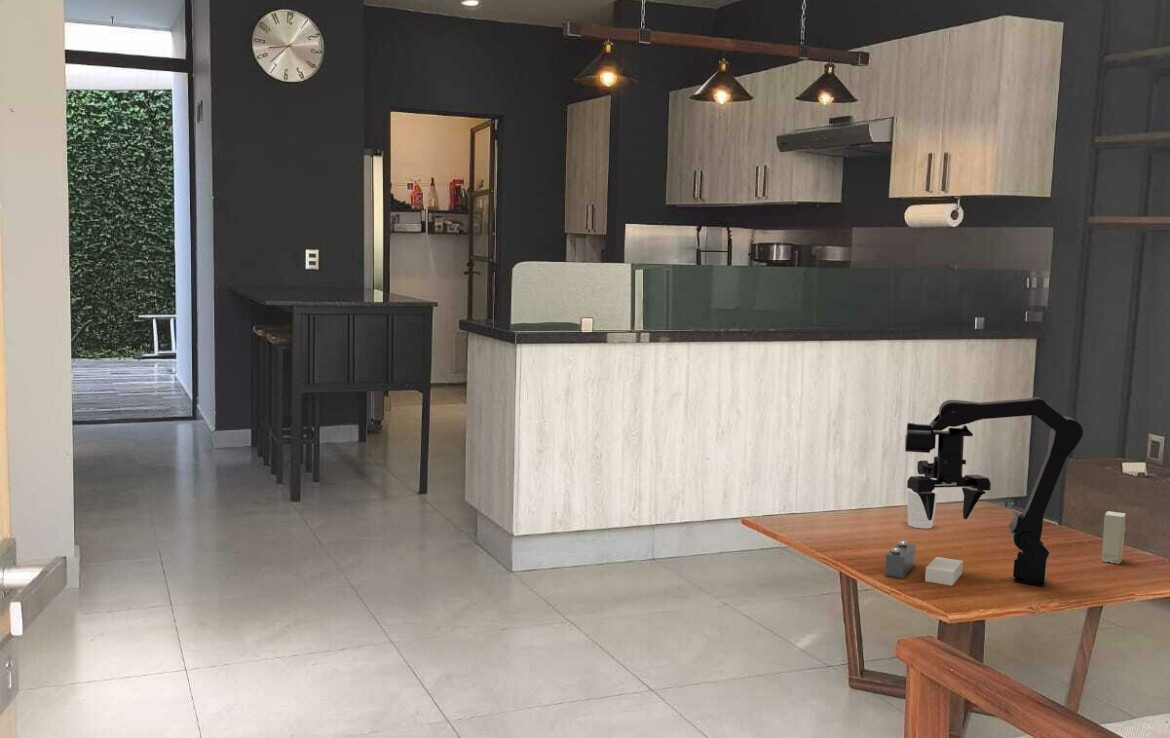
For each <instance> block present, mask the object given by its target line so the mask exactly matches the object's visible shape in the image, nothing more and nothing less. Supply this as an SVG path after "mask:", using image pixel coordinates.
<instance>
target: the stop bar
mask: <svg viewBox="0 0 1170 738" xmlns="http://www.w3.org/2000/svg"><path fill="white" fill-rule="evenodd" d="M916 548H917V545H916V544H912V543H908V541H906V540H898V543H897V544H895V546H893V547H891V549H890V551H888V552H887V553H886V558H885V571H884V572H885V573H884V576H886V577H890V578H897V579H904V577H906V575H907V574H908V573H909V572H910V571H911V570H912V569H913V567H914V566H915V560H916V550H917V549H916Z"/></svg>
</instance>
